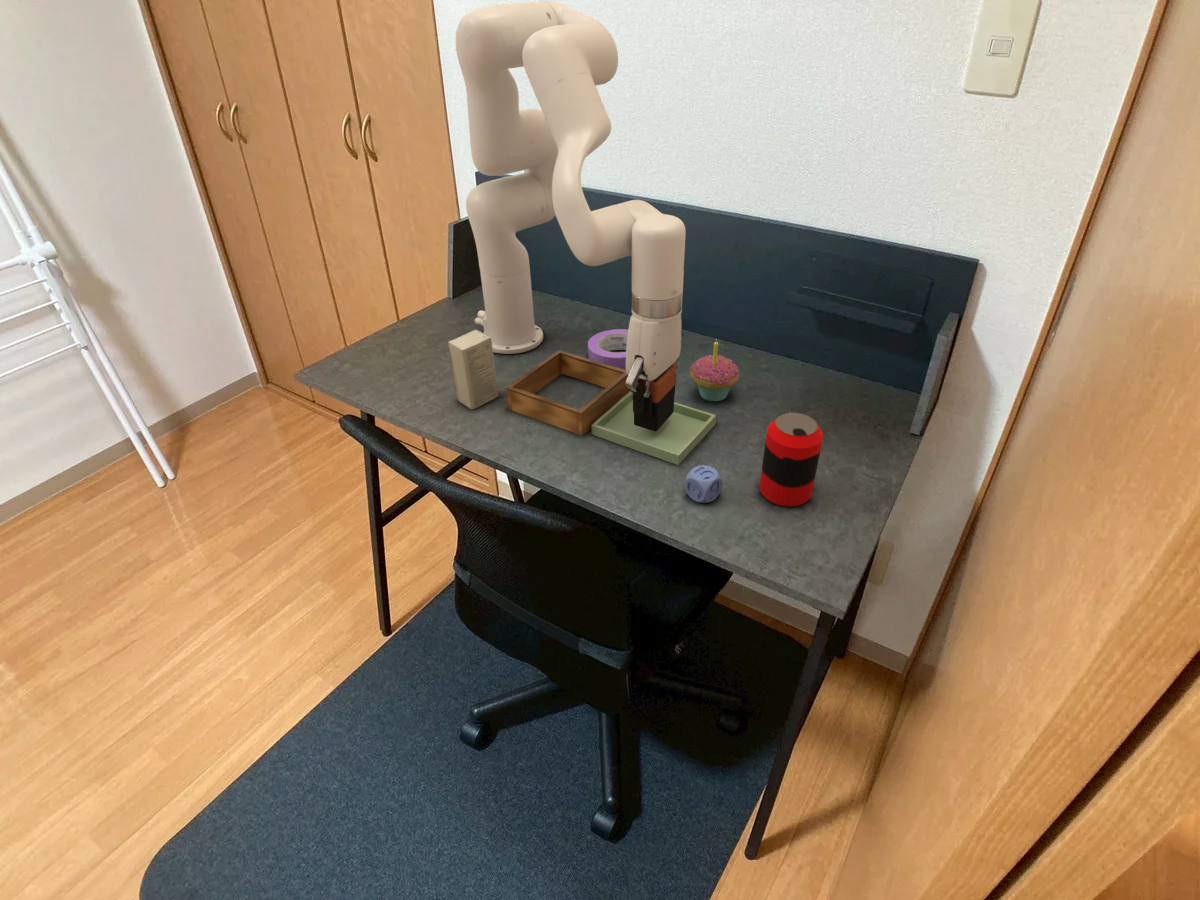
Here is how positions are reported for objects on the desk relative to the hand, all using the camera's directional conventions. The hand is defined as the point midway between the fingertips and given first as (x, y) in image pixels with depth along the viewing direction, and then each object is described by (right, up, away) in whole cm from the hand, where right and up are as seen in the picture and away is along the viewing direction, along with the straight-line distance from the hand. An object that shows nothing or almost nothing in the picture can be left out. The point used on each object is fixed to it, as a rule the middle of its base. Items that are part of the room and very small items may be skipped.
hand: (654, 402), depth 117 cm
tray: (0, -4, +3) cm, 5 cm away
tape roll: (-5, +10, +22) cm, 25 cm away
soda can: (+19, -14, -11) cm, 26 cm away
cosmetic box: (-31, +1, +12) cm, 33 cm away
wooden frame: (-14, +1, +11) cm, 18 cm away
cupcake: (+11, +2, +12) cm, 16 cm away
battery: (0, -3, +2) cm, 3 cm away
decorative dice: (+6, -14, -11) cm, 19 cm away
